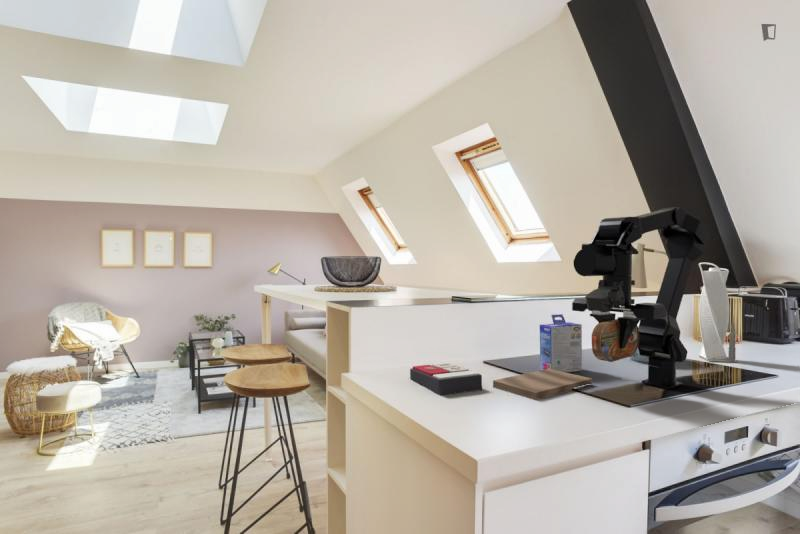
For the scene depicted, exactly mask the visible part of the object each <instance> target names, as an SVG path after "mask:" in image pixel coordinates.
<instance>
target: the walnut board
mask: <svg viewBox="0 0 800 534" xmlns="http://www.w3.org/2000/svg"><path fill="white" fill-rule="evenodd" d="M586 384H592V385H593V379H592V378H591V377H587V376H582V375H577V374H572V373H571V372H561V371H557V370H553V369H545V370H540V369H539V370H536V371H532V372H526V373H522V374H518V375H513V376H508V377H504V378H499V379H493V380H492V388H495V389H498V390H502V391H506V392H508V393H512V394H514V395H518V396H522V397H525V398H528V399H530V400H533V401H537V400H540V399H544V398H545V399H546V398H549V397H552V396H556V395H559V394H563V393H567V392H571V391H573V390H572V389H573V388H574V387H578V386H582V385H586Z"/></svg>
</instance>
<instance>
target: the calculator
mask: <svg viewBox="0 0 800 534" xmlns="http://www.w3.org/2000/svg"><path fill="white" fill-rule="evenodd" d="M409 375H410V376H409V377H410V379H411V381H413V382H414V383H416V384H418V385H420V386H422V387H424V388H426V389H429V390H430V391H431V392H432V393H434V394H436V395H438V396H447V395H454V394H462V393H469V392H476V391H482V390H483V380H482V377H483V376H482V374H480V373H479V372H476V371H473V370H469V368H467V367H464V366H458V365H457V364H453V363H451V362H444V363H443V362H442V363H433V364H423V365H414V366H413V365H412V368H410V369H409Z"/></svg>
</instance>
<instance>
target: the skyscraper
mask: <svg viewBox="0 0 800 534" xmlns="http://www.w3.org/2000/svg"><path fill="white" fill-rule="evenodd" d="M702 265H708V266H713V267H709V268H708V270H703V267H702ZM698 267H699V269H700V273H701V277H702V283H703V286H702V289H701V294H700V296H699V298H700V299H699V304H698V305H699V308H698V320H699V331H700V337H701V341H702V347H701V349H700V351H699V354H698V357H699V358H700V359H702V360H705V361H707V362H710V363H725V364H726V363H727V364H729V363H730V364H737V363H738V360H736V332H735V323H734V318H735V317H733V316H732V317H731V323H730V311H731V310H730V308H731V307H730V306H731V305H730V298H729V297H730V296H729V294H728V289H727V285H726V283H727V280H728V276H729V273H730V270H729V269H728V268H722V267H719V266H718V265H717V264H715V263H712V262H707V261H706V262H699V263H698ZM729 323H730V332H729V338H728V339H729V340H728V342H729V343H728V346H729V347H728V357H727V354H726V351H725V348H724V344H725V340H726V337H727V332H728V330H729V329H728V327H729Z"/></svg>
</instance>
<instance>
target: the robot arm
mask: <svg viewBox="0 0 800 534" xmlns="http://www.w3.org/2000/svg"><path fill="white" fill-rule="evenodd" d="M599 222H600V224H599V226H598V228H597V229H596V231H595V233H594V235H593V237H592V238H591V241H590V242H589V243H582V244H581V249H580V250H579V251H577V253H576V254H575V255H574V256H575V257H574V259H573V267H574V270H575V272H576V273H577V274H578V275H579V276H582V277H602V279H599V281H598V287H597V288H596V289H593V290H592V291H590V292H589V293H588V294H586V295H585V297H578V298H577V297H576V298H574V299H573V301H572V303H571V311H574V312H581V313H583V312H584V313H585V311H586V310H587V311H589V312H591V313H589V317H593V318H594V319H595V320H596V322H597V323H598V324H599V323H601V322H606V321H611V320H615V319H618V321H619V323H620V348H621V349H623V348H625V346H626V344H627V342H628V340H629V338H630V336H631V334H632V332H633V330H634V328H635V327H636V325H637V326H638V329H639V345H638V350H639V354H640V355H641V356H647V357H649V358H648V362H647V363H648V365H647V366H648V367H647V368H648V369H647V379H643V380H641V384H647V385H651V386H655V387H659V388H663V389H668V390H671V389H673V388H677V387H679V386H682V385H683V382H682V381H678V380H677V363H683V362H685V361H686V359H687V356H688V350H687V348H686V347H685V345H684V344H683V342H682V341H681V340H680V338H681V330H680V327H679V323H678V321H677V317H678V314H679V311H680V307H681V303H682V300H683V297H684V293H685V291H686V286H687V284H688V280H689V276H690V273H691V271H692V270H691V269H692V266H693V264H694V262H695V261H696V260H698V259H699V258H700V257H701V256H702V255H703V254H704V253H705V251H706V248H707V245H708V243H710V242H709V241H710V238H711V235H710V231H709V229H707V227H706V226H705V224H704V223H703V222H702V221H701V220H700V219H697V218H695V217H693V216H691V215H689V214H688V213H687V212H686V211H685V210H684V209H683V208H682V207H681V208H680V207H678V206H677V207H676V206H675V207H666V208H665V207H663V208H660V209H658V210H655V211H651V212H647V213H644V214H641V215H636V216H620V217H609V218H608V217H606V218H603V219H601V221H599ZM657 230H660V235H661V236H662V238H663V239H665V248H666V251H667V253H668V256H669V257H668V261H667V266H666V267H665V272H664V275H663V279H662V282H661V285H660V288H659V291H658V294H657V298H656V302H640V303H635V299H634V298H632V286H635V285H636V283H635V282H636V280H635V279H634V280H632V276H633V275H632V274H633V272H632V271H633V255H639V250H637V248H635V247H634V246H633V245H632V244H634V243H635V242H636V241H639V240H640V239H642V236H643V235H644V234H646V233H649V232H653V231H657ZM616 313H622V316H619V317H617V318H616V315H617V314H616ZM638 324H639V325H638Z"/></svg>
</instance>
